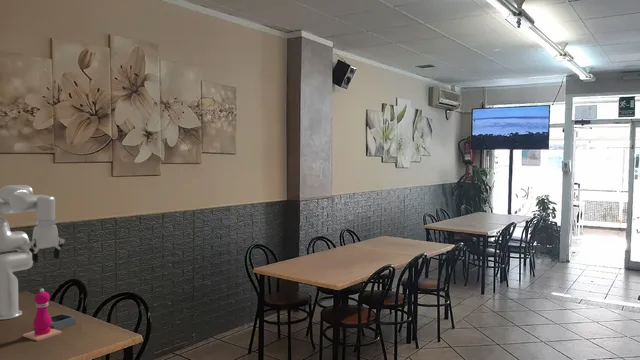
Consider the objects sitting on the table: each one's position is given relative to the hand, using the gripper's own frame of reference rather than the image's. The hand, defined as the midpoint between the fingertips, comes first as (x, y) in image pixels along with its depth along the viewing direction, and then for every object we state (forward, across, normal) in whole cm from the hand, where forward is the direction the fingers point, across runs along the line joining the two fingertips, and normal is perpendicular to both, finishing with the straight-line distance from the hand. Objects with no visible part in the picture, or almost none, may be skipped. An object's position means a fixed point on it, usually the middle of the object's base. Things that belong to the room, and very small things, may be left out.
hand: (46, 259), depth 222 cm
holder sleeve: (+33, -6, -1) cm, 33 cm away
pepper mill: (+32, +5, +5) cm, 33 cm away
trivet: (+33, +5, +6) cm, 33 cm away
